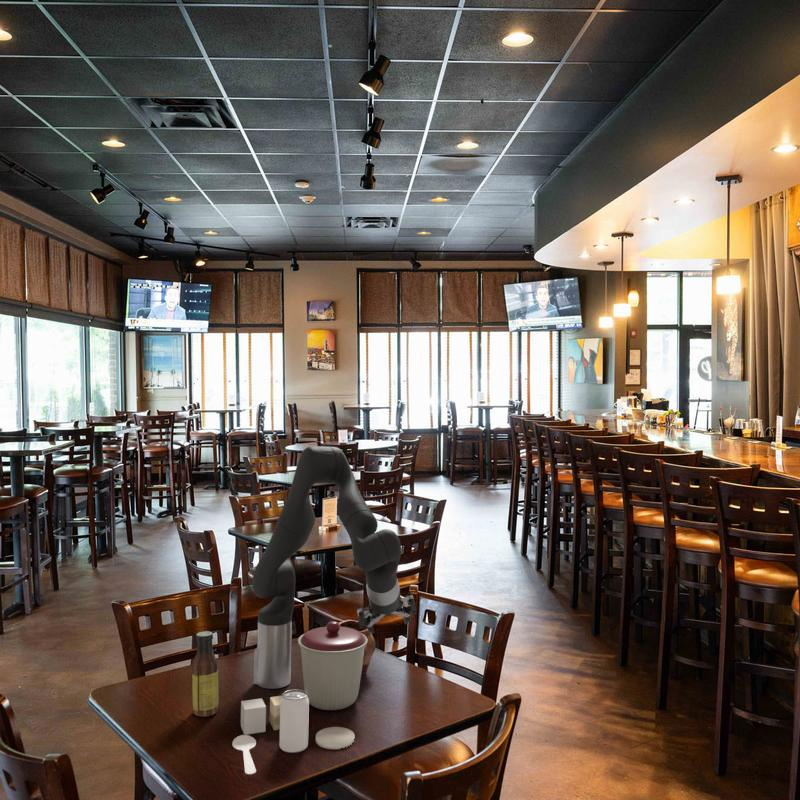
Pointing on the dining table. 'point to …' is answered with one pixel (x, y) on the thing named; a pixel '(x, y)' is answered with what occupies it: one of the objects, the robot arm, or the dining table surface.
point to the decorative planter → (368, 647)
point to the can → (294, 721)
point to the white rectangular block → (253, 716)
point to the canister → (332, 665)
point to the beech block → (275, 712)
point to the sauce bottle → (205, 677)
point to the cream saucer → (335, 738)
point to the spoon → (246, 751)
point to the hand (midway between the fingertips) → (389, 625)
